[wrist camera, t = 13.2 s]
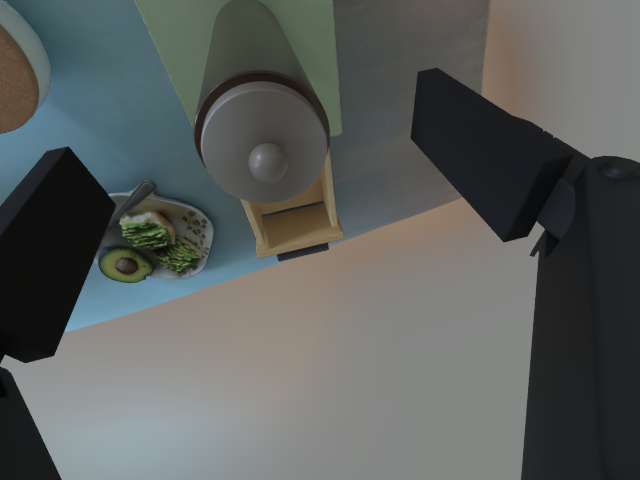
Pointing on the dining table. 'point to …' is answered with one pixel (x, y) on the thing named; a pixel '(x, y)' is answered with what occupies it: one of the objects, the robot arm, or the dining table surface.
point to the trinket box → (20, 70)
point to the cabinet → (196, 31)
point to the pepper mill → (258, 109)
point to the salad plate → (153, 237)
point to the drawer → (297, 221)
